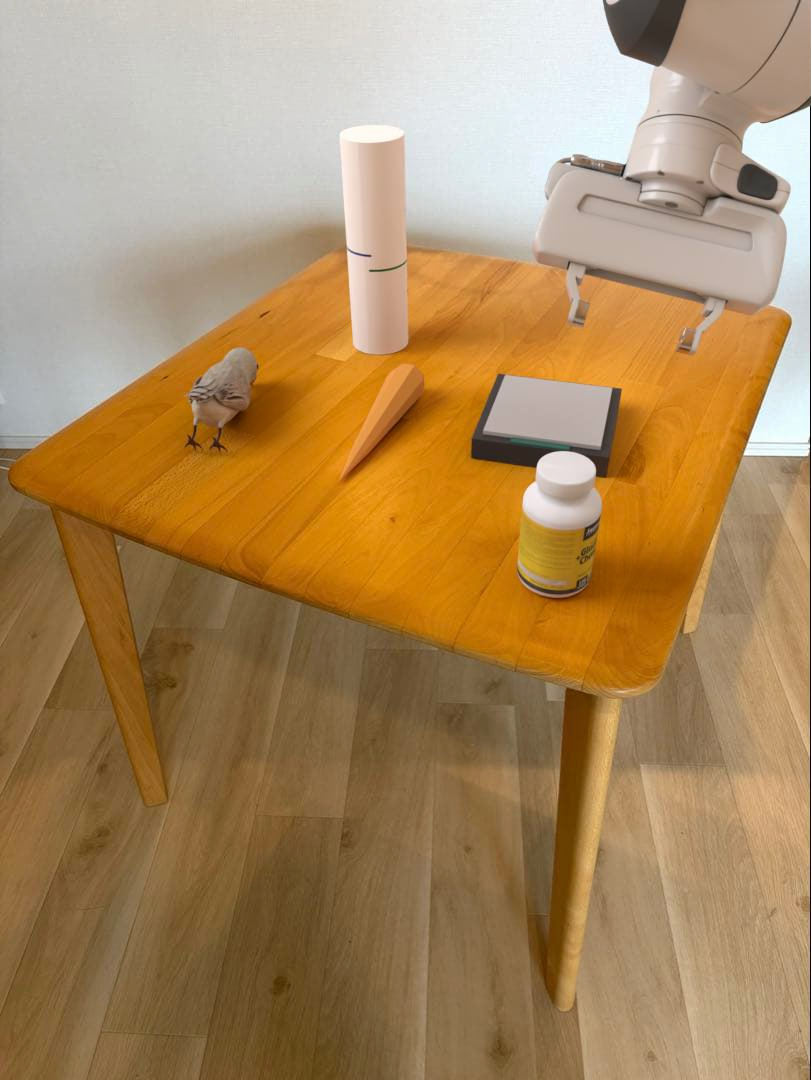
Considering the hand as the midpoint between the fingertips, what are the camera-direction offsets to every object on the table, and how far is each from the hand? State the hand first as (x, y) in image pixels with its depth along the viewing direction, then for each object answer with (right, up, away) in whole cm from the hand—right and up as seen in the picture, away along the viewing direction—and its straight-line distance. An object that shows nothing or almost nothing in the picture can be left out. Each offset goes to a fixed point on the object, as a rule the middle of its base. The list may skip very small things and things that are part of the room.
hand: (629, 338), depth 72 cm
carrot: (-22, -6, +22) cm, 31 cm away
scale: (-3, -5, +21) cm, 22 cm away
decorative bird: (-39, -3, +25) cm, 46 cm away
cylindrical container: (-22, +8, +38) cm, 45 cm away
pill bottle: (-6, -20, +3) cm, 21 cm away
